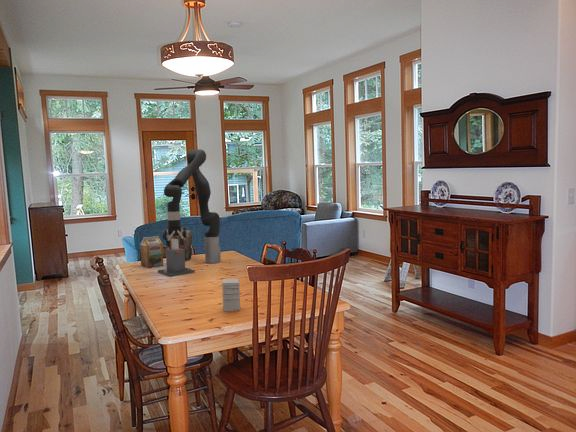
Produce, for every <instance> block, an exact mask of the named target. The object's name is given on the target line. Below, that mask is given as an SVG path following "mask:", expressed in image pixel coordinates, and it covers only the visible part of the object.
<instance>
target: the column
mask: <svg viewBox="0 0 576 432" xmlns="http://www.w3.org/2000/svg"><path fill="white" fill-rule="evenodd" d="M171 244H172V250H179V244H178V239H173V240H171Z"/></svg>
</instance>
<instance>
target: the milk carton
mask: <svg viewBox="0 0 576 432" xmlns="http://www.w3.org/2000/svg"><path fill="white" fill-rule="evenodd" d="M163 245H164V244H163V242H162V241H161V239H160V237H159V235H156V236H145V237H142V240H141V242H140V243H139V246H140V248H139V249H140V251H139V252H140V266H141V267H143V268H145V267H146V268H145V269H152V267H154V268H159V267H164V249H163V248H164V247H163Z"/></svg>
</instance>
